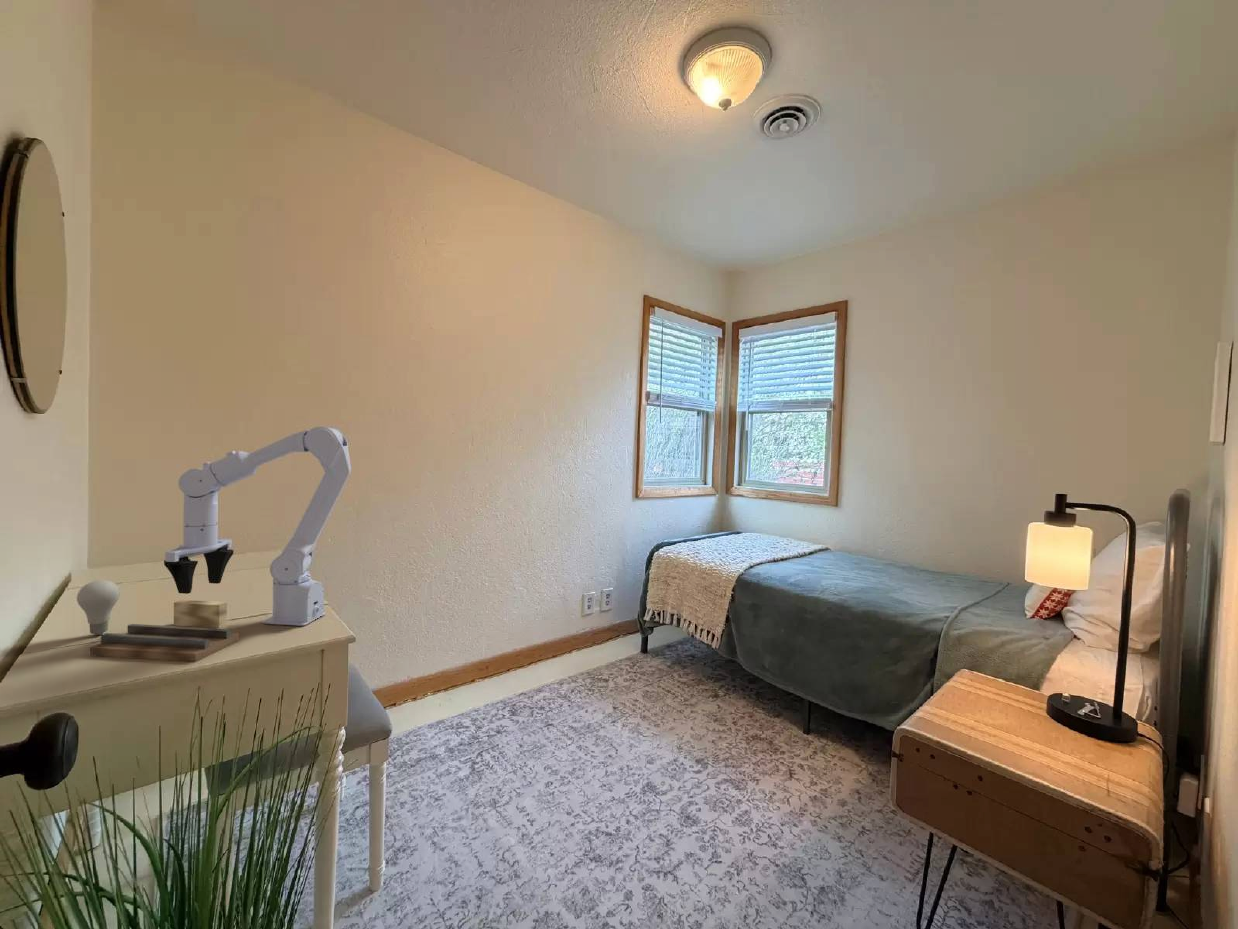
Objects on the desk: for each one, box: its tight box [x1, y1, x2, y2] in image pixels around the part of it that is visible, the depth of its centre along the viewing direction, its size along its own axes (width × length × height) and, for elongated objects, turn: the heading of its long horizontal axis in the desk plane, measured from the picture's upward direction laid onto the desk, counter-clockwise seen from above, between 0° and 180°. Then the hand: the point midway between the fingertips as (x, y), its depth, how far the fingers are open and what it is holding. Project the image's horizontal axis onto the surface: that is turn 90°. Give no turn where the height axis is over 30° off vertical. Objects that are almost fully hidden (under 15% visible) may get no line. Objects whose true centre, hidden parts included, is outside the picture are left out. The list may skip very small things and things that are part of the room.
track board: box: [89, 623, 239, 663], centre depth 99 cm, size 20×10×3 cm, turn 88°
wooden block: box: [173, 599, 228, 629], centre depth 111 cm, size 10×2×5 cm, turn 88°
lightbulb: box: [76, 579, 121, 636], centre depth 104 cm, size 6×6×11 cm
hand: (200, 587), depth 111 cm, fingers open, 7 cm apart
